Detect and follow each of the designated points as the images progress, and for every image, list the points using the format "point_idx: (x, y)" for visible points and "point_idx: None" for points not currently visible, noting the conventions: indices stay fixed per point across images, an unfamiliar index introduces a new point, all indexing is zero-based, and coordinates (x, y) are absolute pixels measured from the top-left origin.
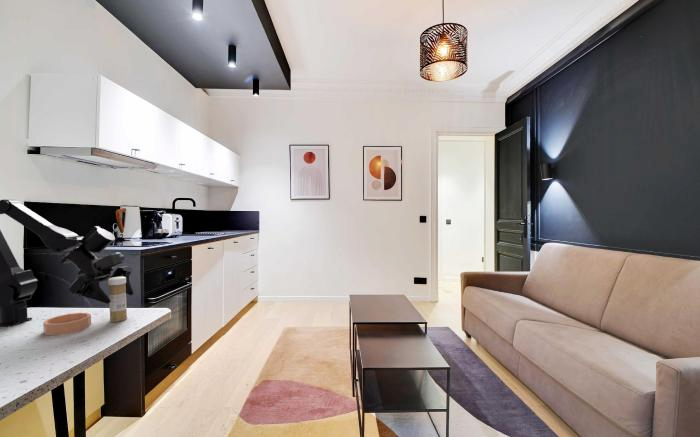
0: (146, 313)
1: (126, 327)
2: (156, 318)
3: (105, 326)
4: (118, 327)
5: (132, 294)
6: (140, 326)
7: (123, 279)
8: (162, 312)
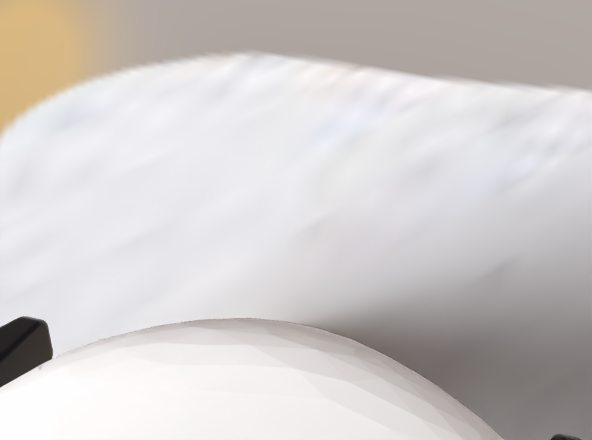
0: (113, 227)
1: (509, 205)
2: (287, 68)
3: None
4: (506, 277)
5: (43, 331)
6: (489, 101)
7: (327, 336)
8: (112, 92)
